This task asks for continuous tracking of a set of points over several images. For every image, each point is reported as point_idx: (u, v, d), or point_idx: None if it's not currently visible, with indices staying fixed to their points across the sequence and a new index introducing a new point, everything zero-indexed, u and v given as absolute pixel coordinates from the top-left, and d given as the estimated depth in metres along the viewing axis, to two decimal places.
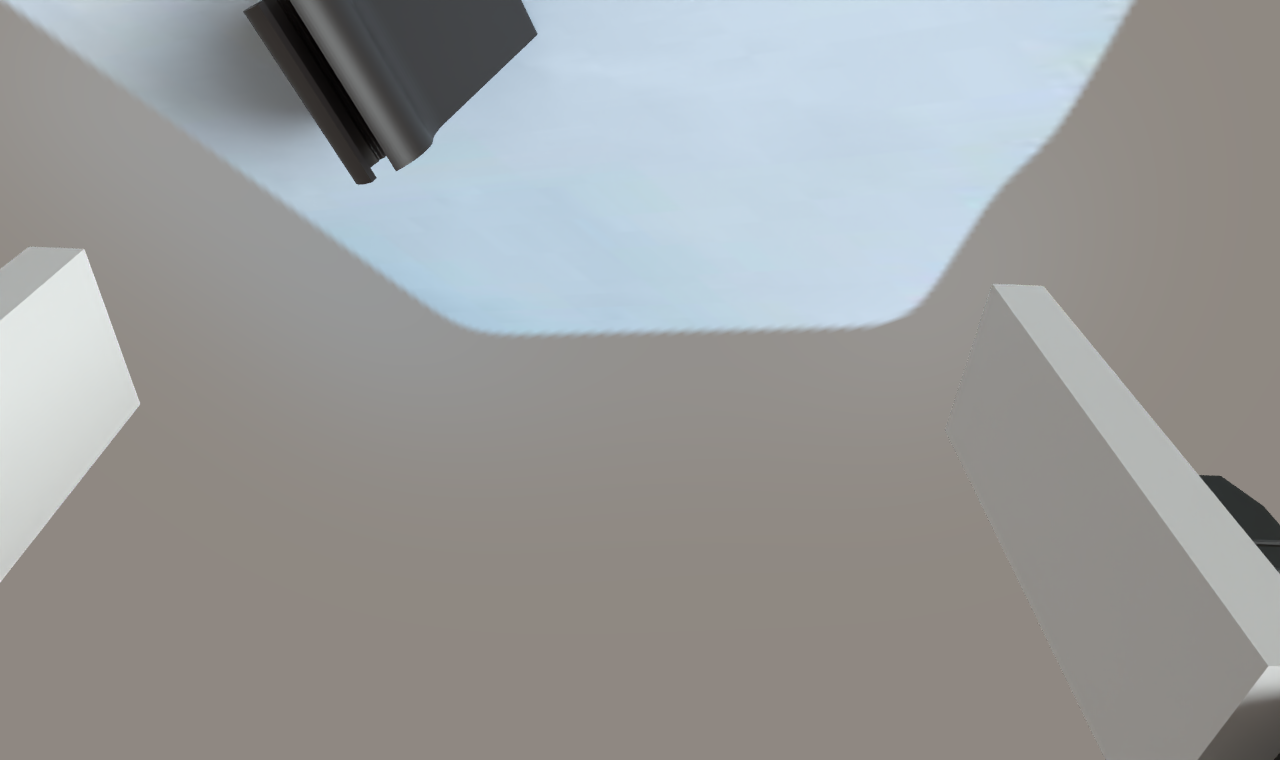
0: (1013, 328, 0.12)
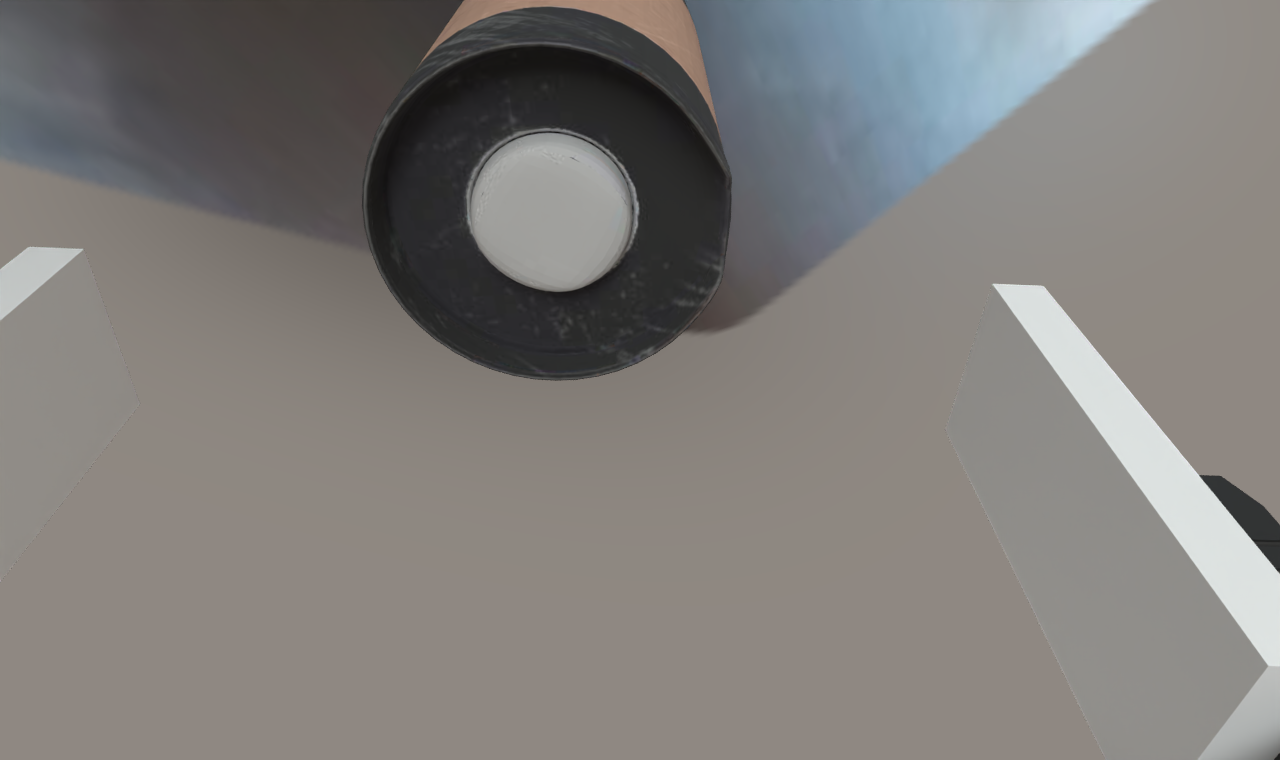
0: (1013, 328, 0.12)
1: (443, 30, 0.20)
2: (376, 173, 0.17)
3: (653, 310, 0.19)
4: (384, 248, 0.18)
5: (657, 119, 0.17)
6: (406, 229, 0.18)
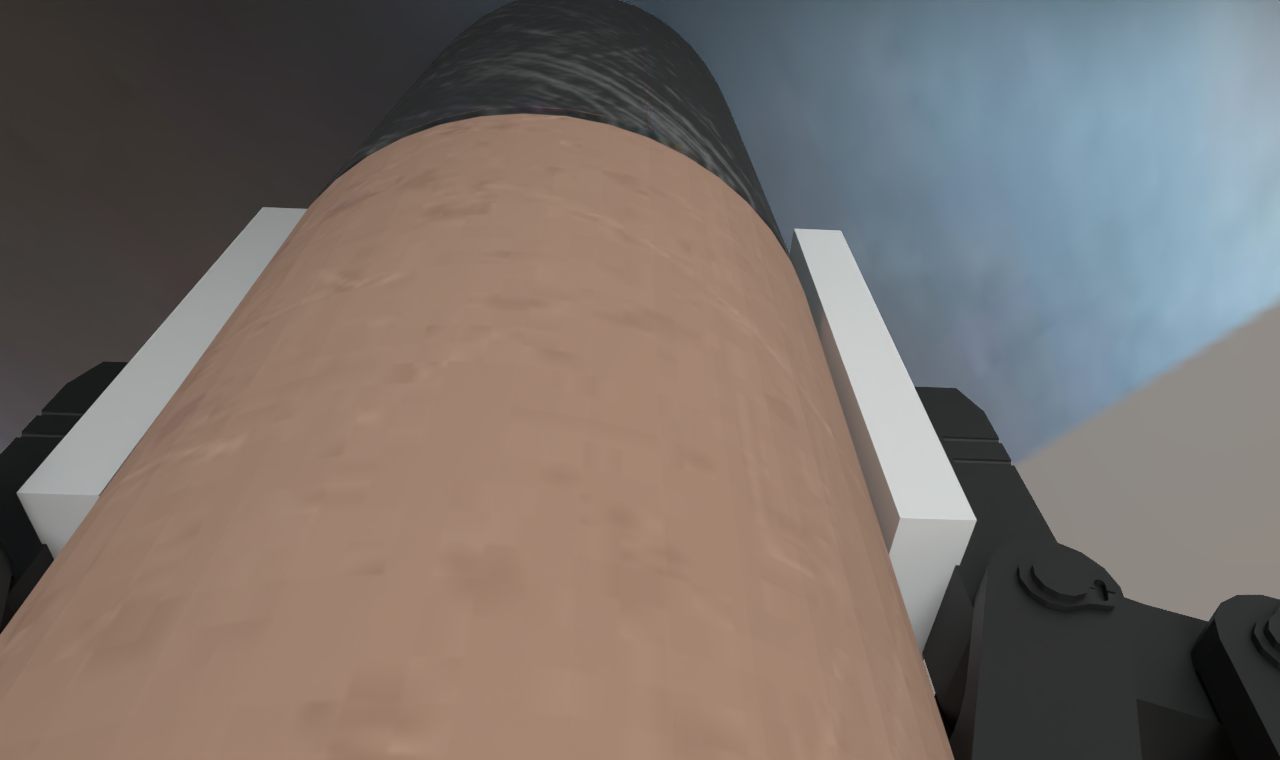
0: (802, 266, 0.13)
1: (13, 616, 0.05)
2: None
3: None
4: None
5: None
6: None
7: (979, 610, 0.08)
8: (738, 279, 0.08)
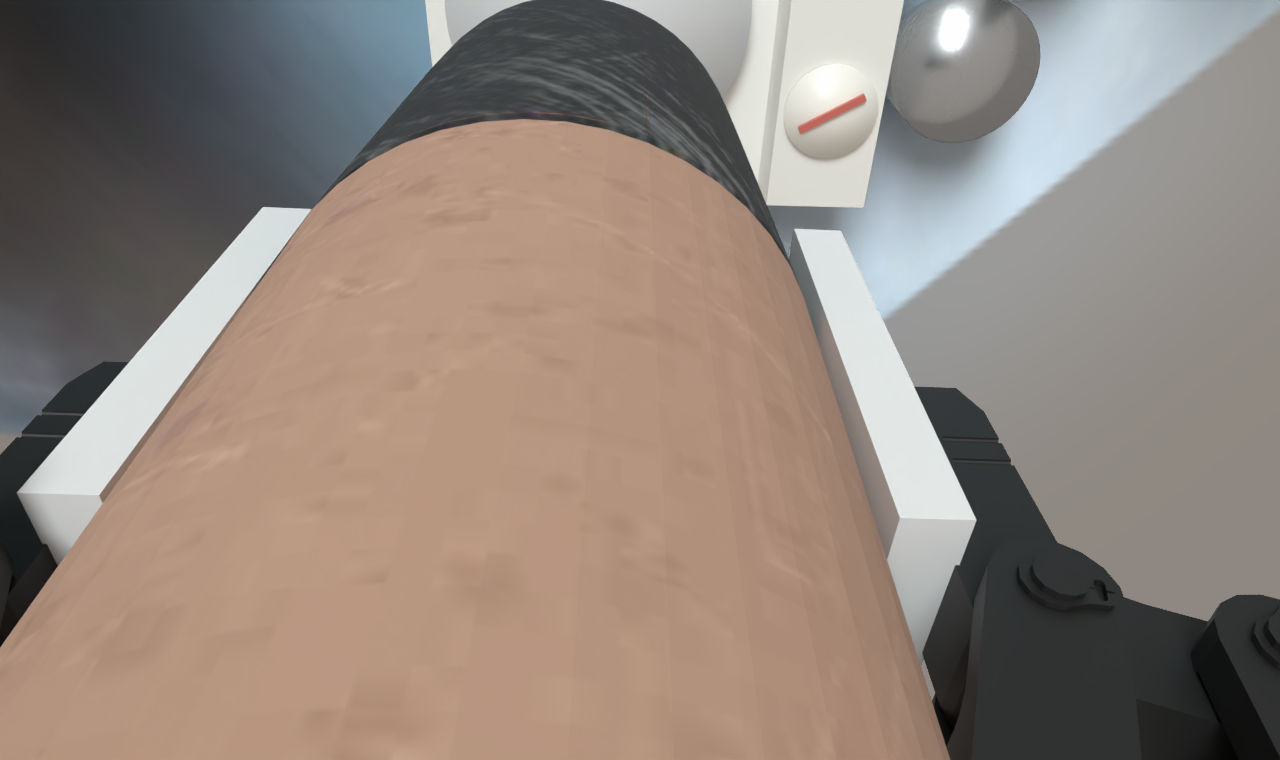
0: (802, 266, 0.13)
1: (18, 622, 0.05)
2: None
3: None
4: None
5: None
6: None
7: (979, 610, 0.08)
8: (737, 285, 0.08)
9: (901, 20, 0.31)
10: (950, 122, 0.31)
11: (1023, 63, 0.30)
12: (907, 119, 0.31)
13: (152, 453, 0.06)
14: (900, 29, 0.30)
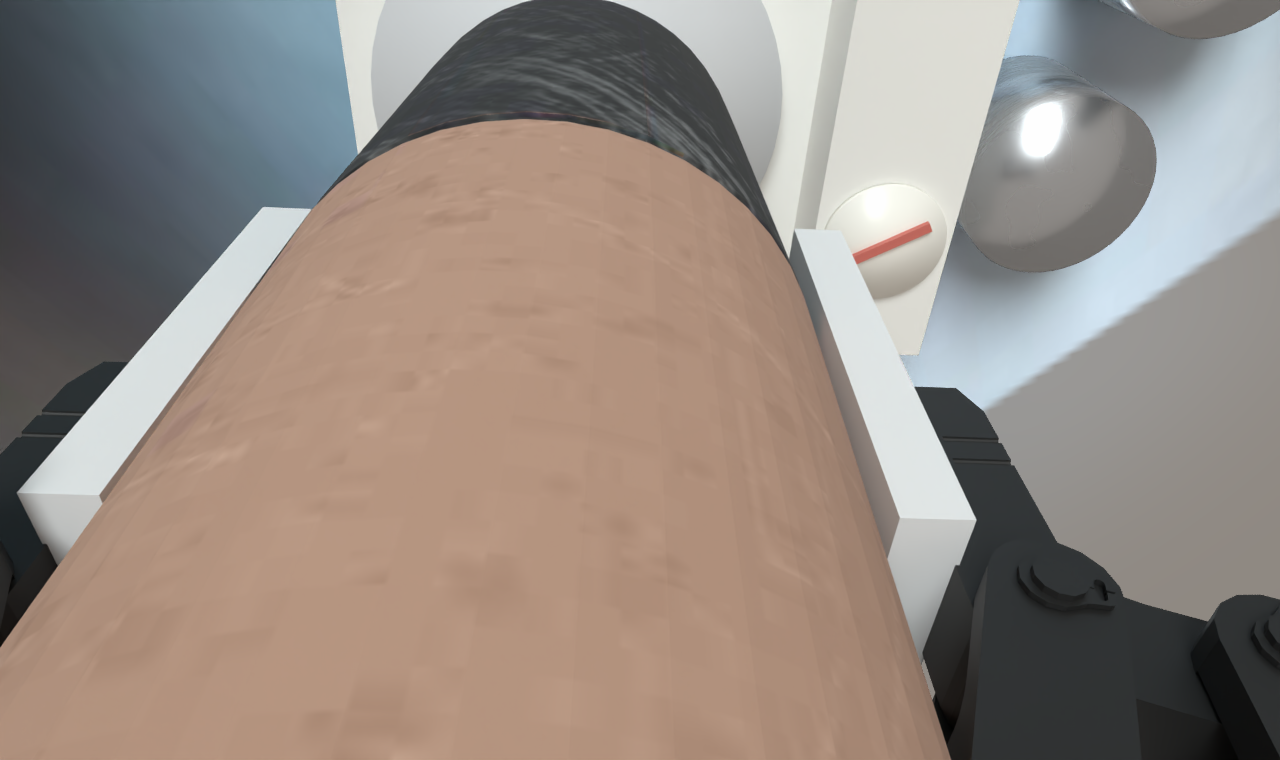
0: (802, 266, 0.13)
1: None
2: None
3: None
4: None
5: None
6: None
7: (979, 610, 0.08)
8: (737, 286, 0.08)
9: None
10: (1032, 248, 0.24)
11: (1132, 179, 0.23)
12: (977, 244, 0.24)
13: (152, 454, 0.06)
14: None
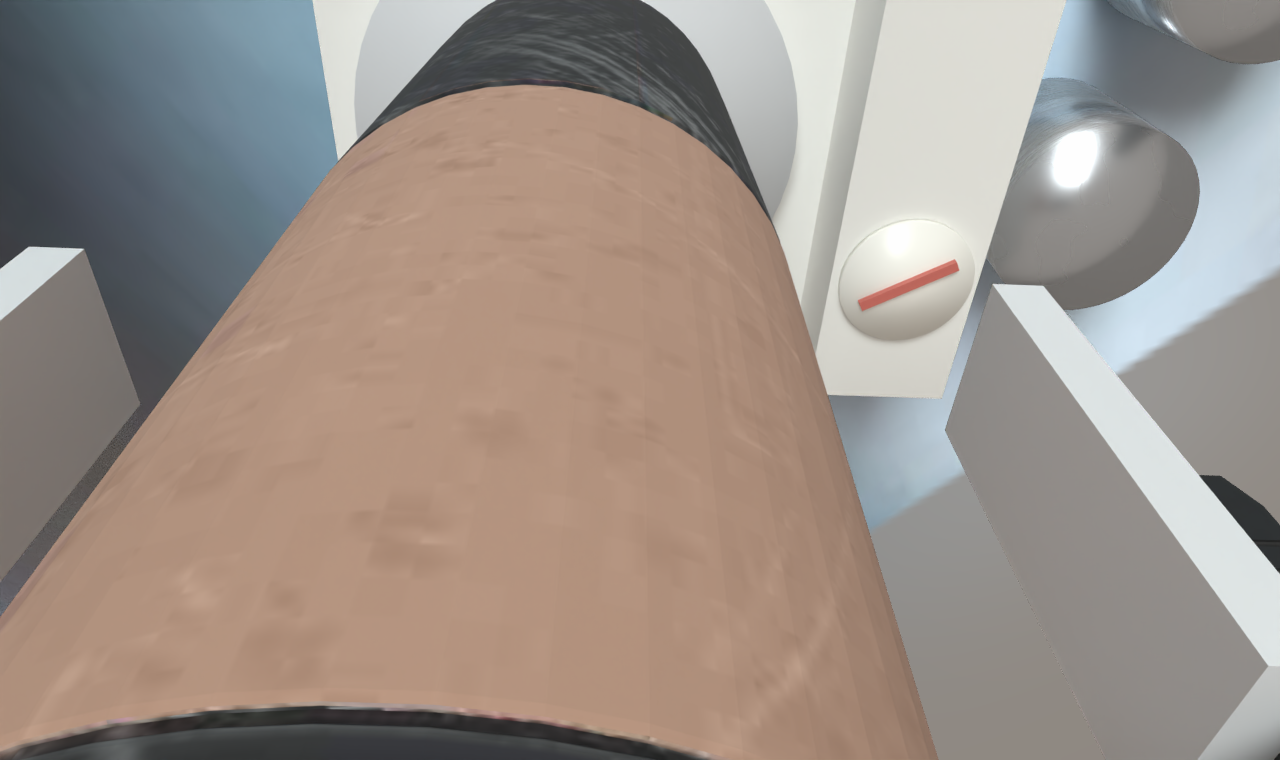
0: (1012, 328, 0.12)
1: None
2: None
3: None
4: None
5: None
6: None
7: None
8: (717, 228, 0.09)
9: None
10: (1064, 285, 0.22)
11: (1173, 212, 0.21)
12: (1005, 280, 0.22)
13: (202, 358, 0.07)
14: None
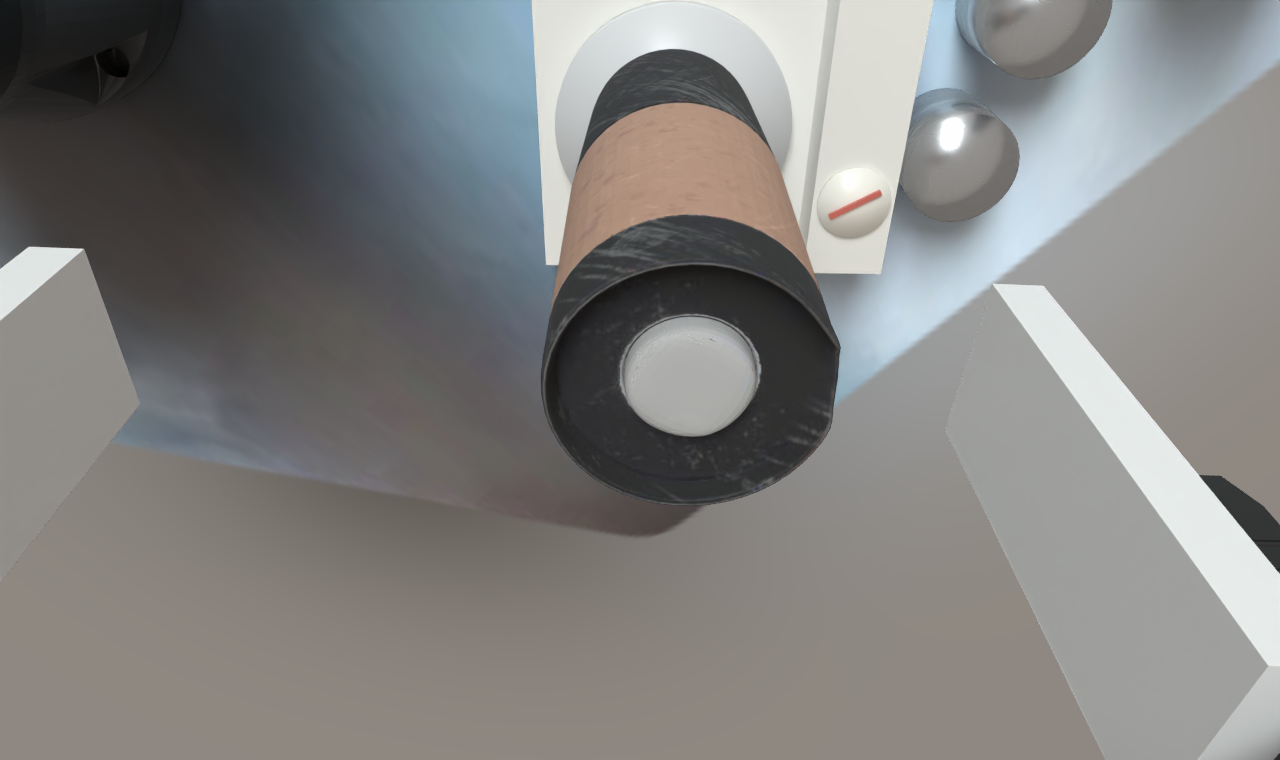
0: (1013, 328, 0.12)
1: (586, 216, 0.24)
2: (552, 356, 0.21)
3: (770, 445, 0.23)
4: (554, 410, 0.22)
5: (778, 304, 0.20)
6: (569, 392, 0.22)
7: None
8: (752, 150, 0.26)
9: (909, 126, 0.39)
10: (949, 206, 0.39)
11: (1006, 162, 0.38)
12: (915, 204, 0.39)
13: (602, 185, 0.24)
14: (908, 134, 0.39)
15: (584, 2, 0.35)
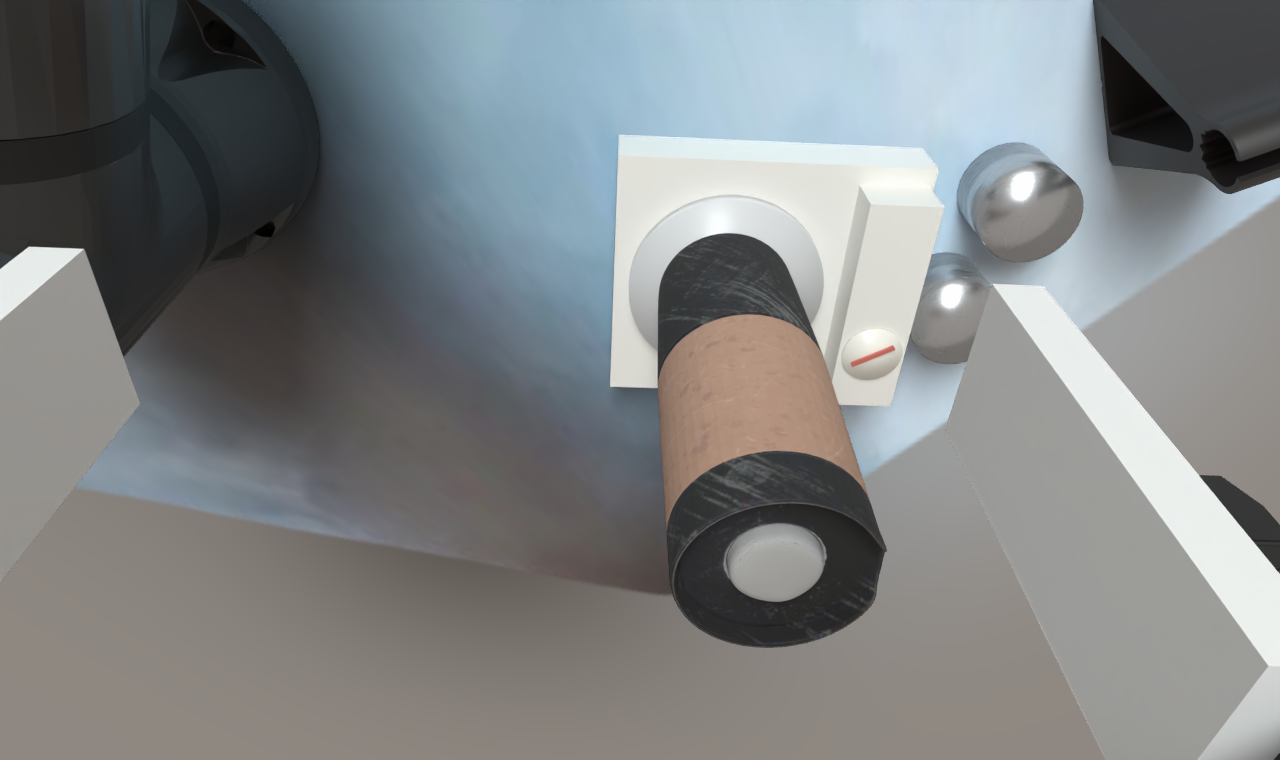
0: (1013, 328, 0.12)
1: (693, 429, 0.32)
2: None
3: (828, 604, 0.31)
4: (676, 584, 0.30)
5: (843, 519, 0.29)
6: (686, 569, 0.30)
7: None
8: (811, 363, 0.34)
9: None
10: (947, 353, 0.48)
11: None
12: (919, 350, 0.48)
13: (703, 401, 0.32)
14: None
15: (659, 194, 0.43)
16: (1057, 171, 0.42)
